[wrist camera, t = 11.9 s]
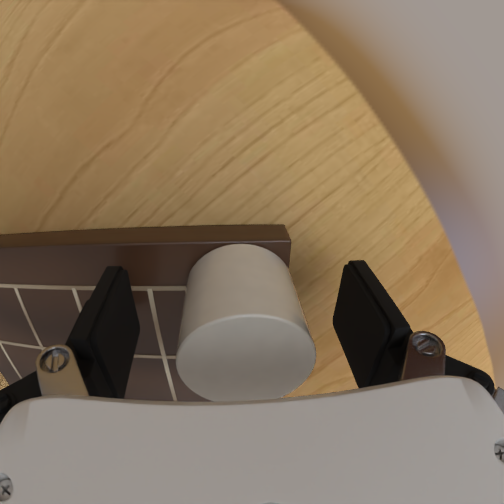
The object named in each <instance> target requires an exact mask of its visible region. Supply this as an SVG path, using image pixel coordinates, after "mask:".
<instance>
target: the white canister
mask: <svg viewBox="0 0 504 504" xmlns="http://www.w3.org/2000/svg"><path fill="white" fill-rule="evenodd" d="M315 361H316V348H315V344H314V341H313V338H312V335H311V332H310V329H309V326H308V323H307V320H306V317H305V314H304V311H303V308H302V305H301V302H300V299H299V296H298V294H297V291H296V288H295V285H294V282H293V279H292V276H291V273H290V271H289V269H288V267H287V266H286V264H285V263H284V262H283V261H282V260H281V259H280V258H279V257H278V256H277V255H276V254H274V253H273V252H271V251H269V250H267V249H265V248H262V247H259V246H256V245H250V244H231V245H226V246H222V247H219V248H217V249H215V250H212V251H210V252H209V253H207V254H206V255H204V256H203V257H202V258H201V259H199V260H198V261H197V263H196V264H195V265H194V266H193V268H192V269H191V271H190V273H189V275H188V278H187V282H186V288H185V294H184V301H183V308H182V315H181V322H180V329H179V337H178V344H177V352H176V368H177V371H178V374H179V376H180V378H181V380H182V381H183V382H184V384H185V385H186V386H187V387H188V388H189V389H190V390H192V391H193V392H194V393H196V394H198V395H199V396H201V397H203V398H205V399H208V400H211V401H214V402H216V401H246V400H263V399H277V398H281V397H283V396H285V395H287V394H289V393H291V392H292V391H294V390H295V389H297V388H298V387H299V386H300V385H301V384H302V383H303V382H304V381H305V380H306V379H307V378H308V377H309V375H310V374H311V372H312V370H313V368H314V365H315Z"/></svg>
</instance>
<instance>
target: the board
mask: <svg viewBox="0 0 504 504" xmlns="http://www.w3.org/2000/svg"><path fill="white" fill-rule="evenodd" d="M231 244H250V245H256V246H259V247H262V248H265V249H267V250H269V251H271V252H273V253H274V254H276V255H277V256H278V257H279V258H280V259H281V260H282V261H283V262H284V263H285V264H286V266H287V267H288V269H289V261H290V251H291V239H290V237H289V234H288V232H287V230H286V228H285V225H215V226H175V227H143V228H117V229H95V230H74V231H55V232H38V233H22V234H8V235H0V372H1V373H2V375H3V376H4V378H5V379H6V381H7V382H8V384H9V385H11V384H13V383H14V382H16V381H18V380H20V379H22V378H24V377H25V376H27V375H29V374H31V373H33V372H34V371H36V366H35V363H36V359H37V356H38V355H39V354H40V352H41V351H42V350H44V349H45V348H47V347H49V346H51V345H55V344H63V345H65V343H66V341H67V339H68V337H69V335H70V333H71V331H72V328H73V326H74V324H75V322H76V320H77V318H78V316H79V314H80V312H81V310H82V308H83V306H84V304H85V302H86V301H87V300H89V299H90V297H91V295H92V293H93V291H94V289H95V287H96V285H97V283H98V282H99V280H100V278H101V276H102V274H103V272H104V271H105V269H106V267H107V266H122V267H123V270H127V271H128V275H129V280H130V285H131V289H132V294H133V298H134V302H135V307H136V311H137V315H138V319H139V323H140V334H139V338H138V342H137V346H136V350H135V354H134V358H133V362H132V366H131V370H130V374H129V379H128V383H127V387H126V392H125V397H124V399H132V400H150V401H178V402H214V401H211V400H208V399H205V398H203V397H201V396H199V395H198V394H196V393H194V392H193V391H192V390H190V389H189V388H188V387H187V386H186V385H185V384H184V382H183V381H182V380H181V378H180V376H179V374H178V371H177V368H176V352H177V344H178V337H179V329H180V322H181V315H182V308H183V301H184V294H185V288H186V282H187V278H188V275H189V273H190V271H191V269H192V268H193V266H194V265H195V264H196V263H197V261H198V260H199V259H201V258H202V257H203V256H204V255H206V254H207V253H209V252H210V251H212V250H215V249H217V248H219V247H222V246H226V245H231Z"/></svg>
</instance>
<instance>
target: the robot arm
mask: <svg viewBox="0 0 504 504" xmlns="http://www.w3.org/2000/svg"><path fill="white" fill-rule="evenodd" d="M333 326H334V329H335V331H336V334H337V336H338V338H339V341H340V343H341V346H342V348H343V350H344V353H345V355H346V358H347V360H348V363H349V365H350V368H351V370H352V373H353V375H354V378H355V380H356V383H357V385H358V389H352V390H346V391H339V392H332V393H325V394H317V395H308V396H298V397H288V398H277V399H263V400H246V401H216V402H178V401H150V400H132V399H124V397H125V392H126V387H127V383H128V379H129V374H130V370H131V366H132V362H133V358H134V354H135V350H136V346H137V342H138V338H139V334H140V323H139V319H138V315H137V311H136V307H135V302H134V298H133V294H132V289H131V285H130V280H129V275H128V271H127V270H123V267H122V266H107V267H106V269H105V271H104V272H103V274H102V276H101V278H100V280H99V282H98V283H97V285H96V287H95V289H94V291H93V293H92V295H91V297H90V299H89V300H87V301H86V302H85V304H84V306H83V308H82V310H81V312H80V314H79V316H78V318H77V320H76V322H75V324H74V326H73V328H72V331H71V333H70V335H69V337H68V339H67V341H66V343H65V345H63V344H55V345H51V346H49V347H47V348H45V349H44V350H42V351H41V352H40V354H39V355H38V356H37V359H36V363H35V366H36V371H34V372H33V373H31V374H29V375H27V376H25V377H24V378H22V379H20V380H18V381H16V382H14V383H13V384H11V385H9V386H7V387H5V388H4V389H2V390H0V504H504V390H503V389H501V388H500V387H498V388H497V389H494V383H493V380H492V379H491V377H490V376H489V375H488V374H487V373H485V372H484V371H482V370H480V369H477V368H475V367H472V366H470V365H468V364H465V363H463V362H461V361H458V360H456V359H454V358H451V357H449V356H447V355H445V353H446V349H445V345H444V343H443V341H442V340H441V339H440V338H439V337H438V336H436V335H435V334H433V333H430V332H426V331H417V332H415V333H413V331H412V330H411V328H410V325H409V324H408V322H407V321H406V319H405V318H404V316H403V315H402V313H401V312H400V310H399V309H398V307H397V306H396V304H395V303H394V302H393V300H392V299H391V297H390V296H389V294H388V293H387V291H386V290H385V289H384V287H383V286H382V284H381V283H380V282H379V280H378V279H377V277H376V276H375V275H374V273H373V272H372V270H371V269H370V268H369V266H368V265H367V264H366V262H365V261H364V260H356V261H349V263H348V264H346V265H345V266H344V268H343V273H342V278H341V283H340V288H339V293H338V297H337V302H336V307H335V311H334V316H333Z"/></svg>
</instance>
